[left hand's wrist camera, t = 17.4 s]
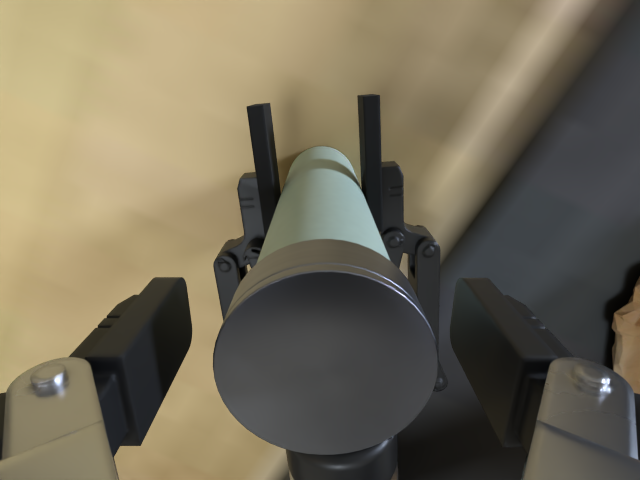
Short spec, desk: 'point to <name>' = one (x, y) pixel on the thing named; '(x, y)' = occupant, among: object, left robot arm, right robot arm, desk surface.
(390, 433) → the lid
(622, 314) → the sculpture
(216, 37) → the desk surface
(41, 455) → the left robot arm
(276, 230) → the bottle
